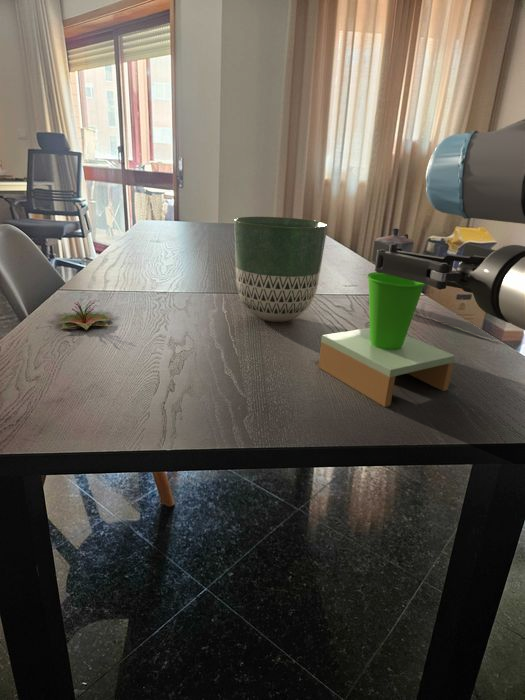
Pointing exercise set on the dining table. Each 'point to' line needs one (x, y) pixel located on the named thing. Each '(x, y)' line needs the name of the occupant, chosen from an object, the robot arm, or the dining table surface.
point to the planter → (278, 264)
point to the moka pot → (398, 241)
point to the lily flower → (83, 318)
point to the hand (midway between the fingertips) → (421, 251)
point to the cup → (391, 309)
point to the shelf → (382, 363)
